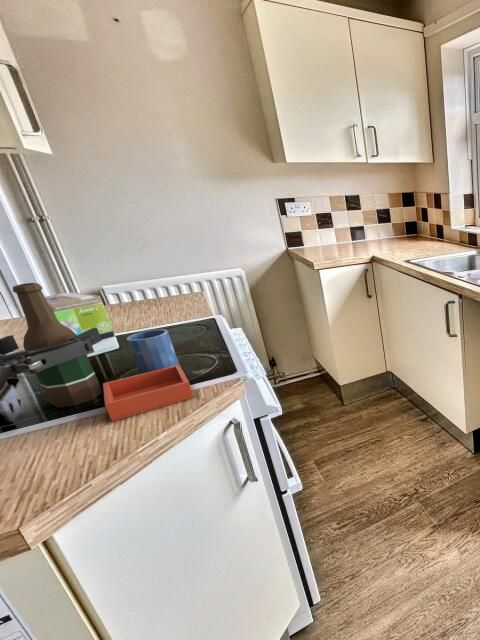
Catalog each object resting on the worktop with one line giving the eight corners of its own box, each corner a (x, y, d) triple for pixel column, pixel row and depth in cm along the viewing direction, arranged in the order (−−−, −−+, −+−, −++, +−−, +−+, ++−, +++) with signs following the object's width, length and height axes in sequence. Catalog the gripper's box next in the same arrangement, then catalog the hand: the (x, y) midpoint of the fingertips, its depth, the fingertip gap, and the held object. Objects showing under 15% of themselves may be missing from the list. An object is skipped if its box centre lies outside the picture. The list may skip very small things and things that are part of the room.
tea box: (122, 348, 113) (101, 294, 108) (73, 362, 105) (48, 305, 99) (93, 341, 119) (72, 290, 114) (45, 353, 111) (20, 299, 105)
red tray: (109, 398, 86) (102, 383, 85) (184, 378, 94) (179, 364, 93) (112, 421, 78) (104, 404, 76) (194, 397, 86) (188, 381, 84)
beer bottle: (53, 398, 87) (-1, 284, 78) (104, 386, 91) (58, 277, 83) (48, 412, 81) (-12, 291, 72) (102, 399, 86) (52, 284, 77)
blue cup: (141, 375, 96) (125, 335, 92) (178, 366, 100) (165, 327, 97) (144, 385, 91) (127, 342, 88) (183, 375, 96) (169, 334, 92)
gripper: (-141, 419, 62) (-14, 363, 81) (63, 395, 68) (136, 348, 87) (-172, 374, 59) (-34, 326, 79) (43, 352, 65) (123, 313, 84)
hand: (56, 338), depth 83 cm, fingers open, 13 cm apart
